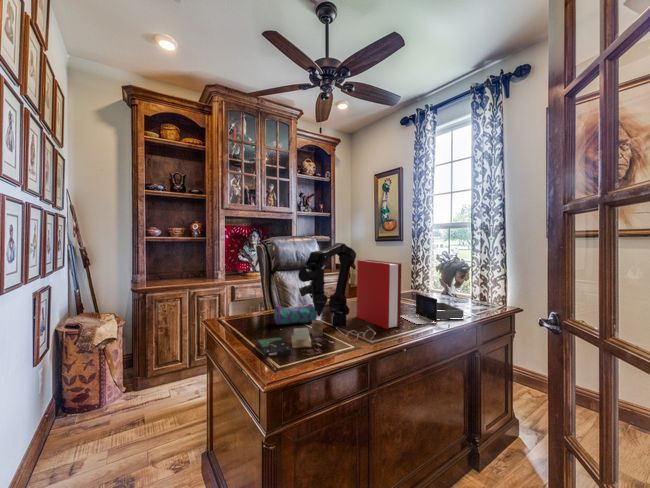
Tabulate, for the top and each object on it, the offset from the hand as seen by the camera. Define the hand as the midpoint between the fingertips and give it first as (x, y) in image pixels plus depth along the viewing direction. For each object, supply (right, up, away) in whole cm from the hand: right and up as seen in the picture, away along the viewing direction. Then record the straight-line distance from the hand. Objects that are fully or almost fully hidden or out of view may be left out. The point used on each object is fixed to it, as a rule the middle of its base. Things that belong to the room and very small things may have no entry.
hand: (317, 313), depth 135 cm
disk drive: (-17, -11, -19) cm, 27 cm away
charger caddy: (+70, -10, +38) cm, 80 cm away
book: (+31, -10, +23) cm, 40 cm away
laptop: (+54, -10, +27) cm, 61 cm away
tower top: (-6, -7, -12) cm, 15 cm away
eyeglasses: (+17, -11, +2) cm, 20 cm away
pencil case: (-12, -10, +18) cm, 24 cm away
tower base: (-6, -10, -12) cm, 17 cm away
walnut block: (0, -10, 0) cm, 10 cm away
